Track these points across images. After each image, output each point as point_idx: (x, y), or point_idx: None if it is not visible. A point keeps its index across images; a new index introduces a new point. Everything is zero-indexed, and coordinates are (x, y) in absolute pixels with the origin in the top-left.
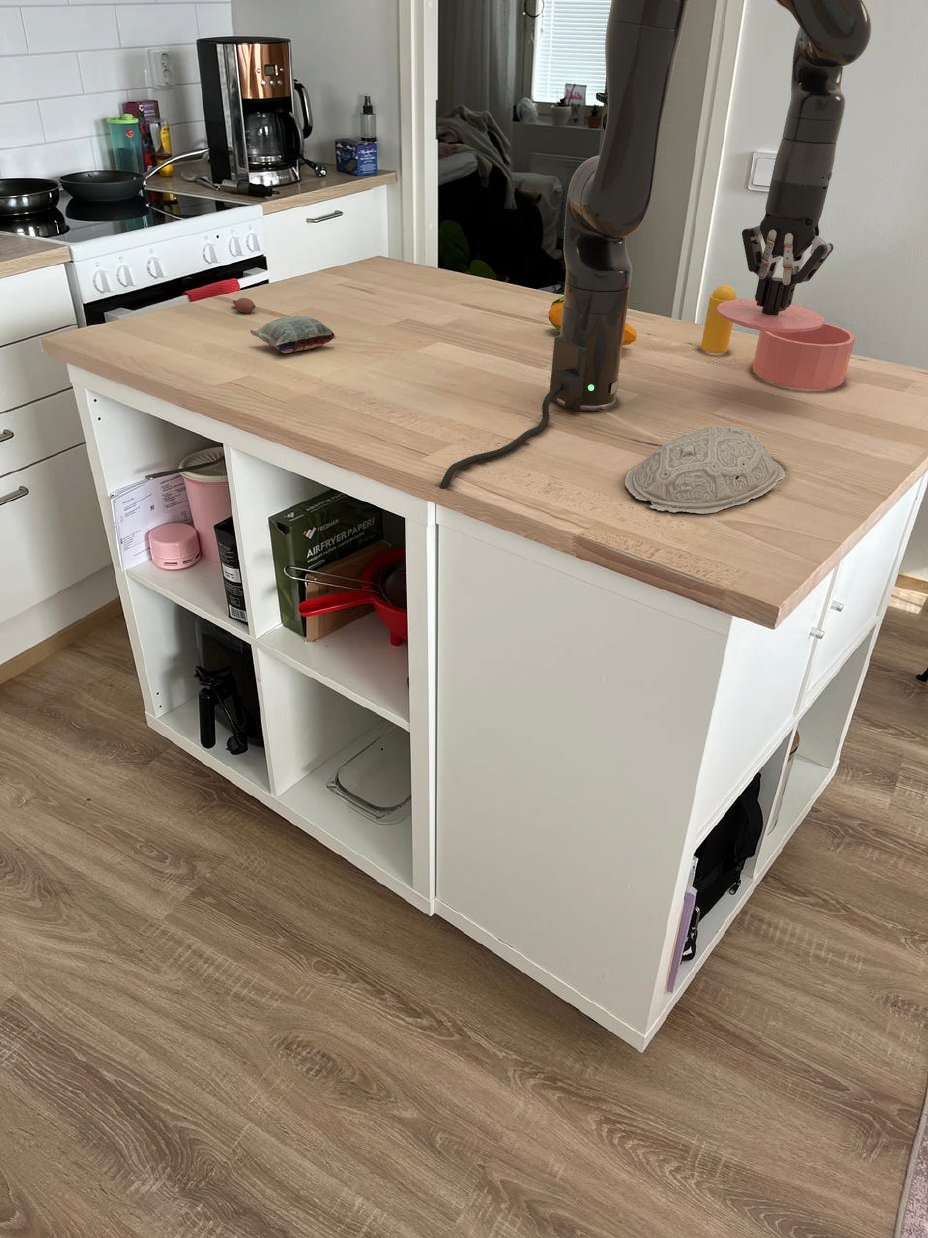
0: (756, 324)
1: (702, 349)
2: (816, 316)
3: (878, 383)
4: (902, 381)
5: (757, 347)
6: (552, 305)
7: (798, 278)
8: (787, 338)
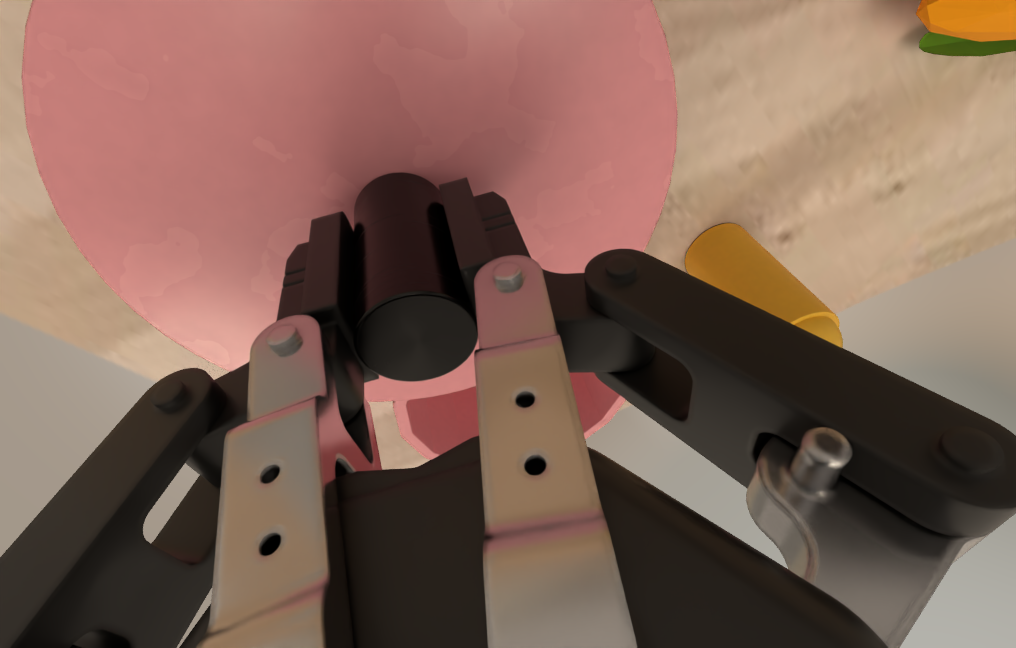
0: None
1: (737, 227)
2: None
3: (393, 425)
4: (387, 460)
5: None
6: None
7: (164, 396)
8: (590, 377)
